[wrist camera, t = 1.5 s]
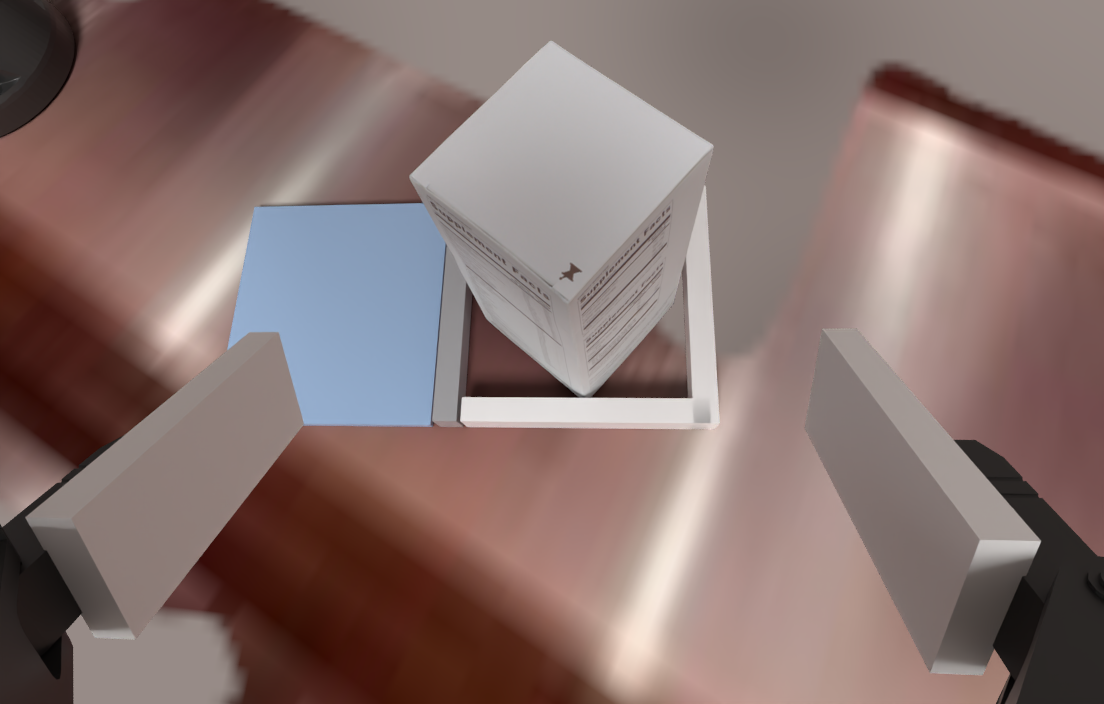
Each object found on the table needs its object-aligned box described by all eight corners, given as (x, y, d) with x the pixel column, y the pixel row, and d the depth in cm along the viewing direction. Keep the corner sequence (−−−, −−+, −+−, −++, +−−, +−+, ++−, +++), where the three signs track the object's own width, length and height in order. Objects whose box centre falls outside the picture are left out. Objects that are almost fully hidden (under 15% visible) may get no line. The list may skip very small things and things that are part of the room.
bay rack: (259, 211, 45) (243, 196, 43) (701, 201, 42) (705, 185, 40) (218, 424, 40) (199, 419, 38) (713, 429, 37) (719, 423, 36)
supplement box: (678, 303, 40) (728, 146, 24) (586, 406, 39) (575, 311, 22) (569, 222, 43) (549, 29, 27) (480, 316, 41) (400, 172, 25)
